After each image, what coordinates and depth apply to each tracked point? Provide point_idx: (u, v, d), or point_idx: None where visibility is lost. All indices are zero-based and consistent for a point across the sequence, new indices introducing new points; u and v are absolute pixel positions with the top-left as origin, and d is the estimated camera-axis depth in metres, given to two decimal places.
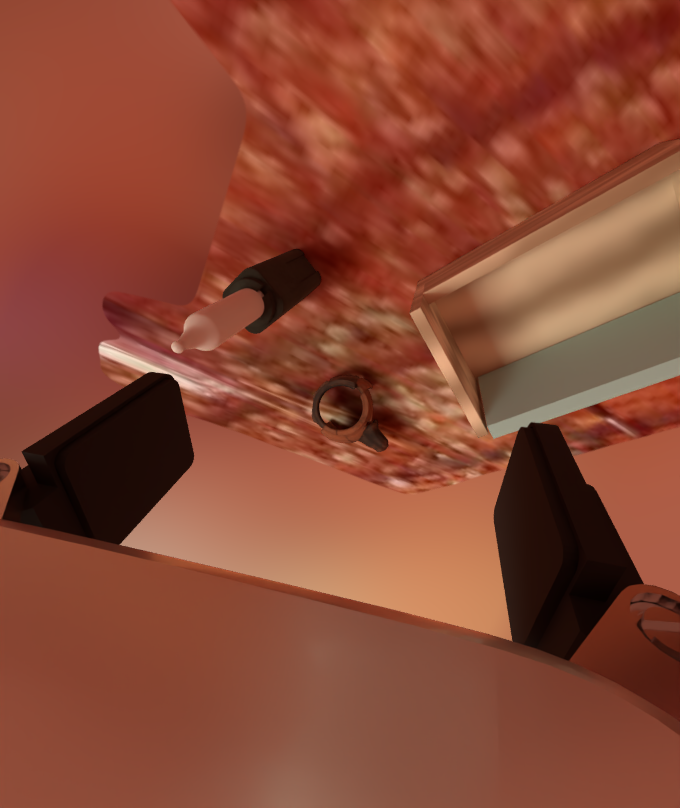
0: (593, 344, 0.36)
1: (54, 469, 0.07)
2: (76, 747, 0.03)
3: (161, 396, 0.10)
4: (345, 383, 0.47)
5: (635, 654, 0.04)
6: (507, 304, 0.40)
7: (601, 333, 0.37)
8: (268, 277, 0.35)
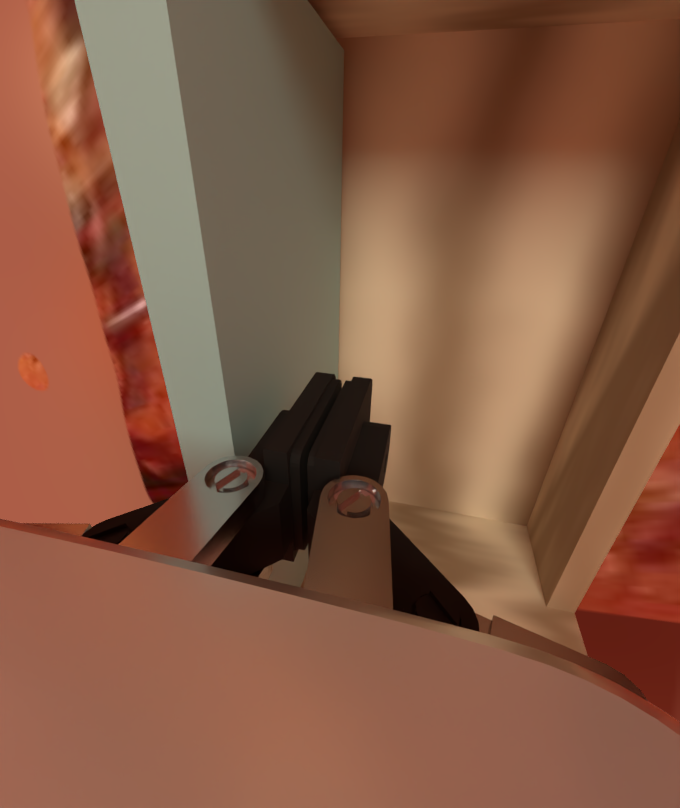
0: None
1: (289, 466, 0.08)
2: (76, 746, 0.03)
3: (335, 395, 0.10)
4: None
5: (341, 531, 0.06)
6: (492, 237, 0.15)
7: None
8: None
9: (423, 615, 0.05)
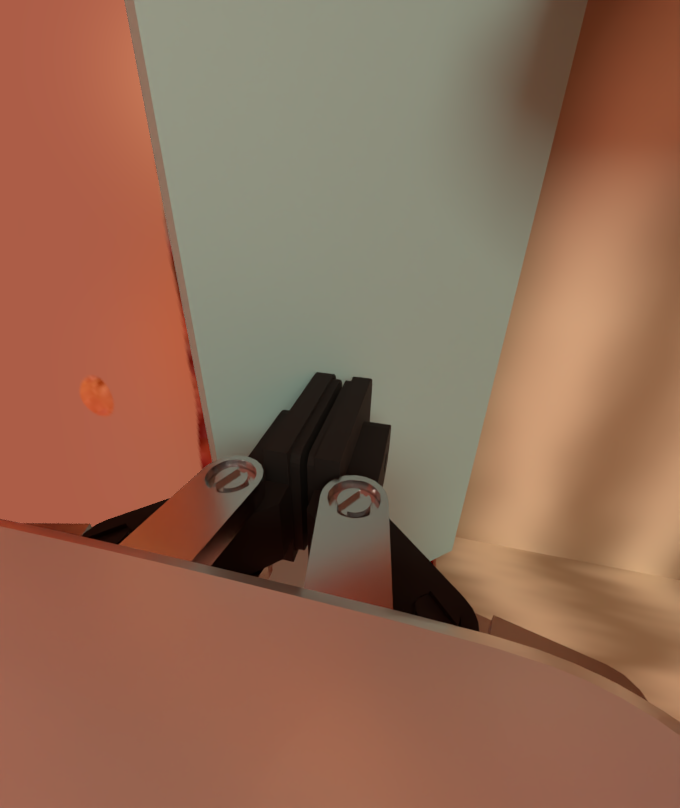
0: (426, 408, 0.14)
1: (289, 466, 0.08)
2: (76, 746, 0.03)
3: (335, 396, 0.10)
4: None
5: (341, 531, 0.06)
6: None
7: (452, 425, 0.15)
8: None
9: (423, 615, 0.05)
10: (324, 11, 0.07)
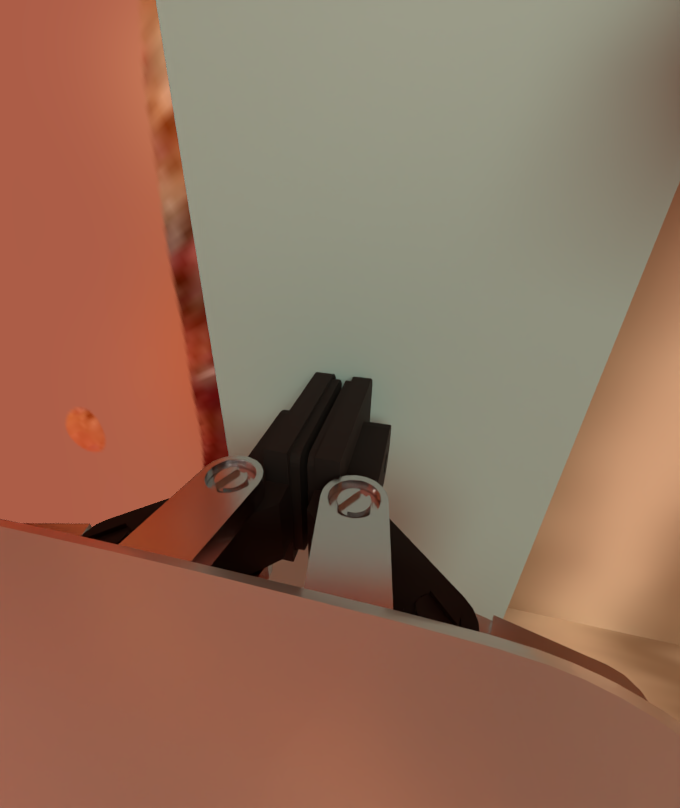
0: (459, 447, 0.12)
1: (289, 466, 0.08)
2: (76, 746, 0.03)
3: (335, 396, 0.10)
4: None
5: (341, 531, 0.06)
6: None
7: (499, 479, 0.12)
8: None
9: (423, 615, 0.05)
10: (328, 8, 0.07)
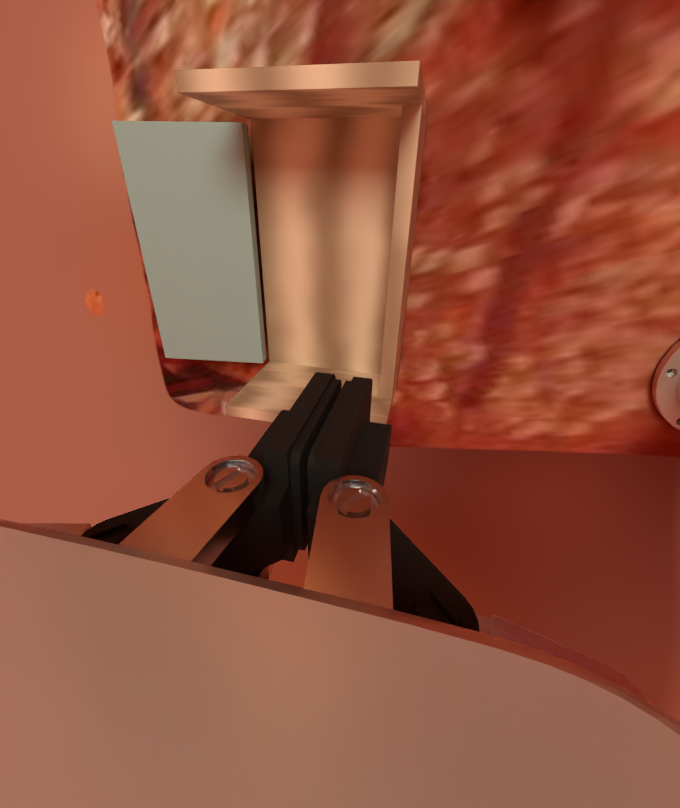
0: (220, 268, 0.35)
1: (289, 466, 0.08)
2: (76, 746, 0.03)
3: (335, 396, 0.10)
4: None
5: (341, 531, 0.06)
6: (341, 208, 0.32)
7: (237, 281, 0.36)
8: None
9: (423, 615, 0.05)
10: (155, 141, 0.31)
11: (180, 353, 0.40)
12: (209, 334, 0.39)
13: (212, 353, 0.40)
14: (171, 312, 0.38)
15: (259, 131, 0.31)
